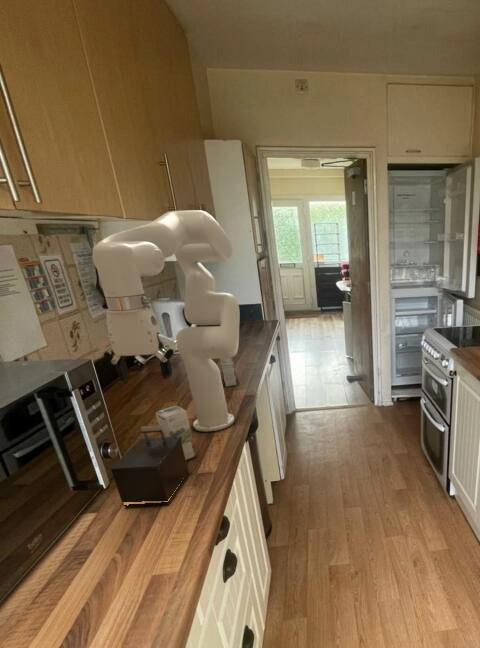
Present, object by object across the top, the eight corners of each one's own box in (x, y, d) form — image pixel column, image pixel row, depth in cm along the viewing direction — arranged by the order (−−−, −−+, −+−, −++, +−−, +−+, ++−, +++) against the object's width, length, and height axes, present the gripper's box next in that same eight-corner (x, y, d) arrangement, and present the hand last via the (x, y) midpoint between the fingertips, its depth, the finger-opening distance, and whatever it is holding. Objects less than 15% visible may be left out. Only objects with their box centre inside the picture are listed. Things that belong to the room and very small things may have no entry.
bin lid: (141, 441, 107) (135, 422, 105) (181, 439, 108) (177, 420, 106) (111, 471, 94) (104, 451, 92) (158, 469, 95) (152, 448, 93)
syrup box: (186, 450, 123) (175, 404, 117) (197, 456, 120) (186, 409, 114) (167, 458, 119) (154, 411, 113) (177, 465, 116) (164, 416, 110)
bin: (149, 476, 111) (139, 443, 107) (189, 474, 111) (180, 440, 107) (124, 508, 98) (111, 472, 94) (168, 505, 99) (158, 469, 95)
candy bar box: (223, 379, 180) (215, 340, 173) (235, 377, 182) (228, 339, 175) (224, 387, 171) (216, 347, 164) (237, 385, 172) (230, 345, 166)
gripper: (174, 299, 97) (189, 371, 104) (96, 302, 97) (116, 375, 103) (160, 304, 91) (178, 381, 97) (76, 308, 90) (100, 385, 96)
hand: (146, 378), depth 100 cm, fingers open, 9 cm apart
